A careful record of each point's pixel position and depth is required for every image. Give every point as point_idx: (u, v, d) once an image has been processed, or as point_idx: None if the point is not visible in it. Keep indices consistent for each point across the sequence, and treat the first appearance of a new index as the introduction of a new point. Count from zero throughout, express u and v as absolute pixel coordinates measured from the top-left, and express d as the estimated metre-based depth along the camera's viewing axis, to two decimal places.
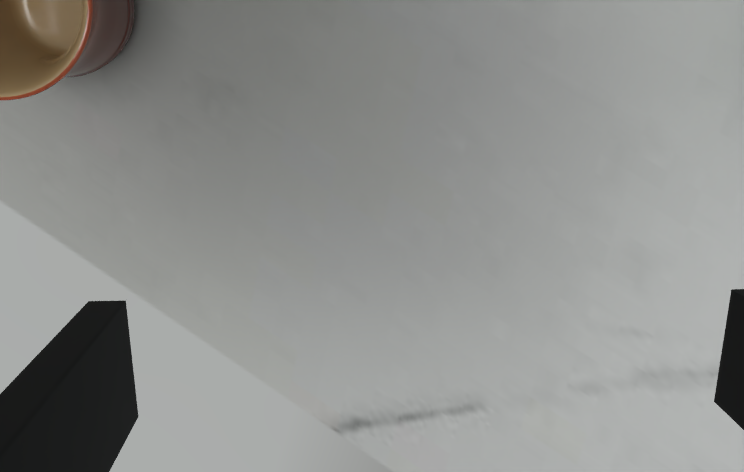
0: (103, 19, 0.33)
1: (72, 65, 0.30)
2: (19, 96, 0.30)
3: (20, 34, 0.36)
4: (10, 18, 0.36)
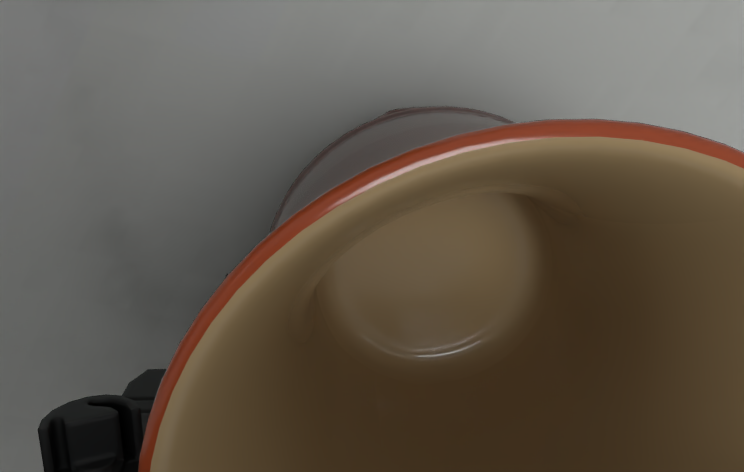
0: None
1: None
2: None
3: (499, 369, 0.15)
4: (463, 386, 0.16)
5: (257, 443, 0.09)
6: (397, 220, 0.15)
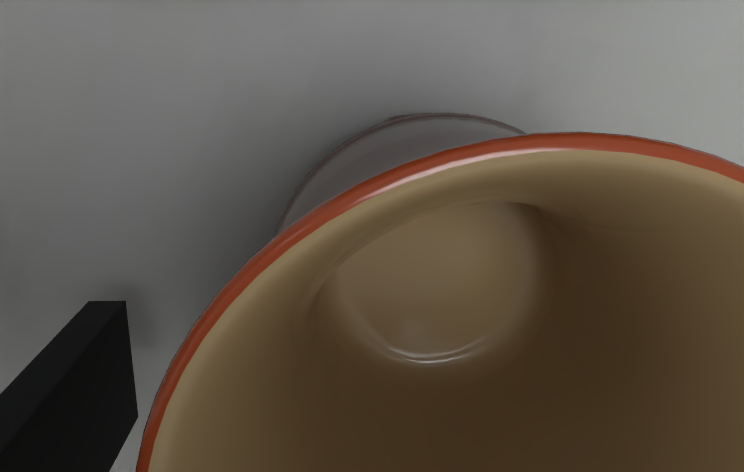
0: None
1: None
2: None
3: (504, 375, 0.15)
4: (468, 392, 0.15)
5: (255, 454, 0.09)
6: (400, 226, 0.15)
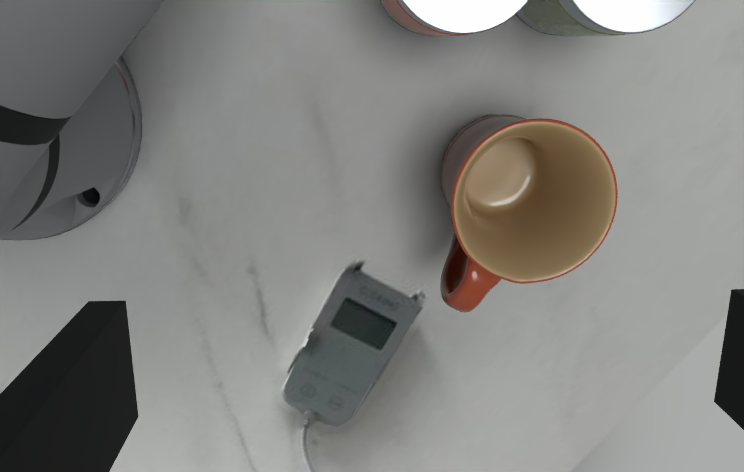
0: None
1: (594, 140, 0.34)
2: (615, 186, 0.35)
3: (522, 208, 0.43)
4: (509, 214, 0.43)
5: (465, 198, 0.37)
6: (485, 155, 0.43)
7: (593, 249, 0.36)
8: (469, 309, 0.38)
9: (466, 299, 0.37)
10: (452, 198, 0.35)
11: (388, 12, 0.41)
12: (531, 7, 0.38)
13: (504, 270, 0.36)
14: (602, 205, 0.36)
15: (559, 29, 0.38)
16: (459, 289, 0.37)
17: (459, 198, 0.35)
